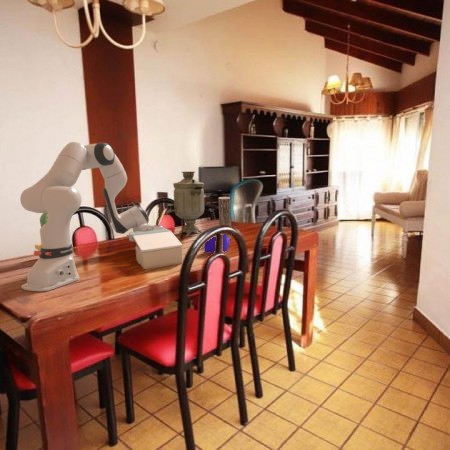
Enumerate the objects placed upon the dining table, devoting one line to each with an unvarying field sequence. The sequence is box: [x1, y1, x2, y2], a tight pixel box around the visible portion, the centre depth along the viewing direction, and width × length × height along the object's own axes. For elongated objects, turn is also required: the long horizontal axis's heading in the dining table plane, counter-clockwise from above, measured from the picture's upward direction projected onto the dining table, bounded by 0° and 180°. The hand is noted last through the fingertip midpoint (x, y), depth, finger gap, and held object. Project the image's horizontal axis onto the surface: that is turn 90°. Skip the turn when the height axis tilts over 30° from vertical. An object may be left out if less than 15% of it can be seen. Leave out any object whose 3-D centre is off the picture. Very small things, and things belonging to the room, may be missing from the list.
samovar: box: [165, 171, 205, 236], centre depth 235 cm, size 30×26×40 cm
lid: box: [132, 229, 183, 252], centre depth 173 cm, size 19×19×1 cm
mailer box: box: [135, 245, 183, 270], centre depth 172 cm, size 15×18×8 cm
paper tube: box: [218, 196, 232, 240], centre depth 216 cm, size 7×7×25 cm
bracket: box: [203, 234, 230, 254], centre depth 194 cm, size 18×11×12 cm, turn 157°
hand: (152, 237), depth 178 cm, fingers closed, pressing on lid
